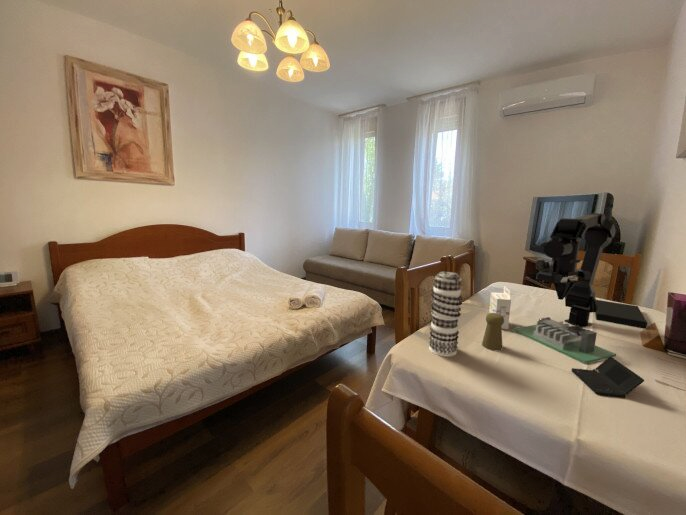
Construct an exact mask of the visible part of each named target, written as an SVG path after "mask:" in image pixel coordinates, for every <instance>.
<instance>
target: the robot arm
mask: <svg viewBox="0 0 686 515" xmlns="http://www.w3.org/2000/svg"><path fill="white" fill-rule="evenodd" d="M615 236H616V227H615V224H614V222H612V220H609V219H608V218H606V215H605V214H603V213H597V212H596V213H595V212H593V213H592V212H591V213H590V212H589V213H586V214H585V215H582V216H579V217H576V218H570V217H569V218H567V217H566V218H564V217H561V218H560V219H559V220H558V221H557V222H556V224H555V226H554V228H553V229H552V231H551V234H550V237H549V238H551V240H549V241H547V242H546V243H545V244H544V246H543V252H544V254H545V256H547V257H549V258H551V261H545V260H544V259H540V260H536V263H535V269H536V270H538V271H539V272H537V273H536V278H535V279H536V280H538V281H542V282H546V283H551V284H553V286H554V288H555V291H556V296H557V298H558V300H561V301H563V300H564V303H565V305H564V306H565V307H568V308H570V309H569V316H568V319H564V321H563V322H566V323H567V324H570V325H571V324H572V326H578V327H581V328H586V327H591V326H593V325H594V324H593V323H590V322H589V320H590V315H591V313H595V312H597V307H598V304H597V301H596V300H597V299H596V291H595V289H594V287H593V283H594V280H595V277H596V274H597V271H598V267H599V264H600V261H601V256H602V253H603V250H604V249H605V248H606V247H607V246H609V245H610V244H611V243H612V240H613V238H614V237H615ZM582 239H584V241H585V243H586V250H585V253H584V256H583V259H582V263H581V266H580V269H579V268H577V263H579V264H580V262H581V258H580V259H579V258H578V256H579V249H580V243H581V242H582ZM576 277H577V280H576Z"/></svg>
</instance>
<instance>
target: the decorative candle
mask: <svg viewBox="0 0 686 515" xmlns="http://www.w3.org/2000/svg"><path fill="white" fill-rule="evenodd" d="M433 278H434V283H433V284H434V285H433V288H432V289H431V293H430V296H431V300H430V302H431V304H430V308H431V310H430V313H431V317H432V318H431V324H430V327H429V330H430V332H429V337H428V339H429V341H428V344H429V345H428V349H429V351H430V353H432V354H435V355H437V356H440V357H445V358H446V357H448V358H449V357H454V356H456V355H457V353H458V348H459V347H458V344H459V341H458V339H459V334H460V332H459V324H458V322H459V319H460V317H461V315H462V314H461V313H460V312H461V311H462V308H461V307H459V306H462V304H463V302H462V300H463V296H461V295H462V294H461V293H462V289H461V288H462V287H461V285H462V281H463V278H462V277H460V275H459V274H458V273H456V272H453V271H440V272H438V273H437V274H436V275H435V276H434V277H433Z"/></svg>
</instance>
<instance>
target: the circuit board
mask: <svg viewBox="0 0 686 515" xmlns="http://www.w3.org/2000/svg"><path fill="white" fill-rule="evenodd" d="M536 325H537V324H533V325H526V326H519V327H514V328H513V329H512V331H513V332H515V331H516V332H515V333H517V332H518V334H519V333H520V334H519V335H522V336H524V337H526V338H528V339H530V340H532V341H535V342H536V343H539V344H541V345H542V346H545V347H548V348H550V349H552V350H554V351H556V352H558V353H559V354H560V353H561V354H563V355H565V356H567V357H568V358H571V359H573V360H575V361H578V362H580V363H582V364H584V365H586V364H590V363H594V362H599V361H602V360H607V359H608V358H609V357H613V358H615V357H617V353H616V352H612V351H611V350H608V349H605V348H603V347H600V346H598V345H596V344H595V347H594V352H589V353H583V352H580V351H579V349H580V346H578V347H573V348H568V349H564V350H562V349H560V348H558V347H556V346H554V345H551V344H549V343H547V342H545V341H543V340H540V339H538V338H536V337H534V336H533V333H534V331H535V330H536Z"/></svg>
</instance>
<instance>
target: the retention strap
mask: <svg viewBox="0 0 686 515" xmlns="http://www.w3.org/2000/svg"><path fill="white" fill-rule="evenodd" d="M538 321H540V322H543V323H546V324H548V325H551V326H553V327H556V328H558V329H561V330H563V331H566V332H568V333H571V334H573V335H576V336H580V335H581V334H579V331H582V330H587V329H586V328H585V327H579V326H576V325H572V326H573V327H570V326H571V325H569V326H567V325H565V324H566V323H563V324H562V323H559V322H560V321H557V320H555V319H552V318H551V317H549V316H547V317H543V318H539V319H538Z"/></svg>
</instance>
